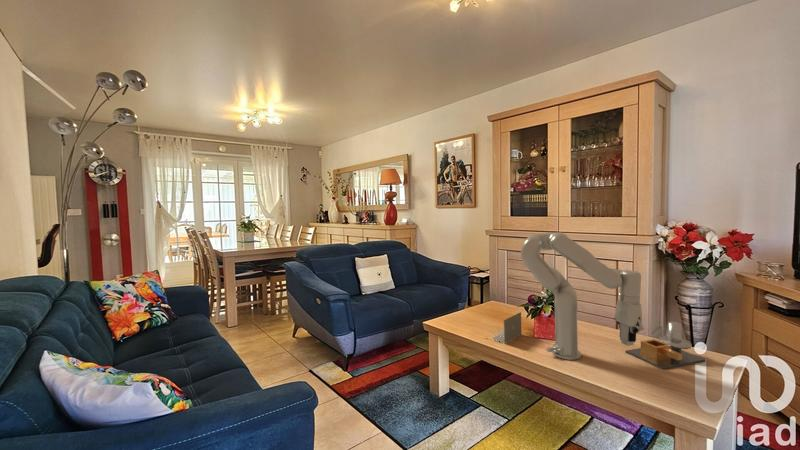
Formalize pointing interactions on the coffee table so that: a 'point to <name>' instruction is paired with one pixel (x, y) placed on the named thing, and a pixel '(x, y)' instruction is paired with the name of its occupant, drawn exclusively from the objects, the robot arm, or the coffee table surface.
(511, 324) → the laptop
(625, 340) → the grey block
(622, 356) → the coffee table surface
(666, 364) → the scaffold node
